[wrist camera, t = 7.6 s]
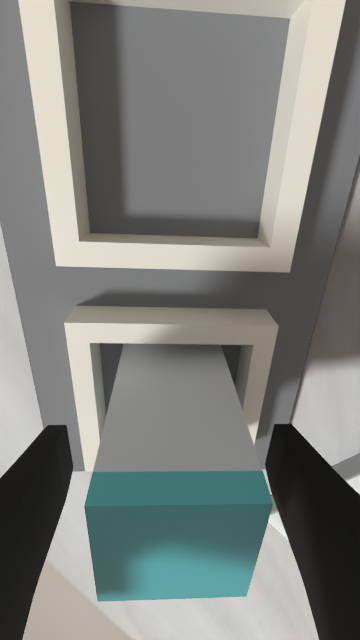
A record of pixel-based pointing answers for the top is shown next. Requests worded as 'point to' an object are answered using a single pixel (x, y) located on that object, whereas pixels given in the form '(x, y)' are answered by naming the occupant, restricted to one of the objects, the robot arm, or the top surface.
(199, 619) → the top surface
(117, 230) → the mat
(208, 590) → the plug
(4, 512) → the robot arm
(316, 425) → the top surface
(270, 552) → the top surface
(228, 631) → the top surface
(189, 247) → the frame
